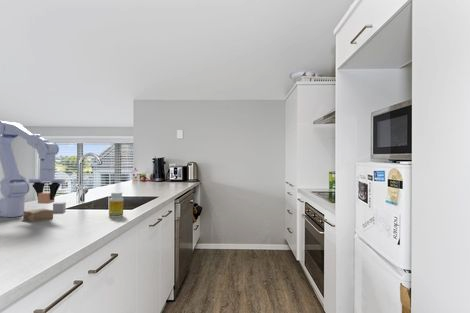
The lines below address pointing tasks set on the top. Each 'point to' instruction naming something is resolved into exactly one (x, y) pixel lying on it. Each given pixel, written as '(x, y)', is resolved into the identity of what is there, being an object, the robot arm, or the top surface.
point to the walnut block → (37, 215)
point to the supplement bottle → (116, 205)
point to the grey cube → (59, 207)
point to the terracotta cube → (44, 198)
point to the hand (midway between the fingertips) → (46, 199)
